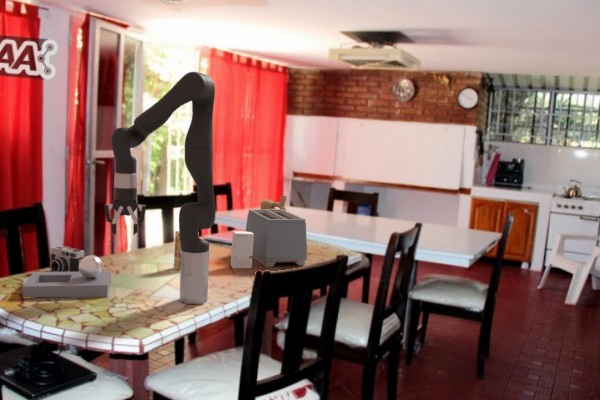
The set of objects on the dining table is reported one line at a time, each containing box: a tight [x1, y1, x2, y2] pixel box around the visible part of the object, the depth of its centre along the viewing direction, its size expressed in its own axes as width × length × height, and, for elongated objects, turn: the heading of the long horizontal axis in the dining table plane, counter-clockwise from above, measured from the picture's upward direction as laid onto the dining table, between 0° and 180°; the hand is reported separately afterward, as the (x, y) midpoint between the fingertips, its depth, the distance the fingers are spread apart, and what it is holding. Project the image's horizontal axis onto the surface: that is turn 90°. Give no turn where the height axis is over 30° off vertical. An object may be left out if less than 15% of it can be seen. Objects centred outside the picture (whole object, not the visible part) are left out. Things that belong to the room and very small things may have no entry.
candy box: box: [173, 230, 200, 271], centre depth 236 cm, size 9×4×15 cm, turn 123°
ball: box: [79, 254, 104, 279], centre depth 201 cm, size 8×8×8 cm
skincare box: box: [230, 230, 254, 270], centre depth 243 cm, size 8×6×15 cm
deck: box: [22, 270, 112, 299], centre depth 200 cm, size 18×26×4 cm
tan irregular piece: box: [260, 195, 288, 211], centre depth 295 cm, size 17×20×25 cm
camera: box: [50, 245, 85, 272], centre depth 219 cm, size 14×9×10 cm, turn 57°
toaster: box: [245, 208, 308, 268], centre depth 263 cm, size 19×35×20 cm, turn 23°
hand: (124, 234), depth 202 cm, fingers open, 5 cm apart
